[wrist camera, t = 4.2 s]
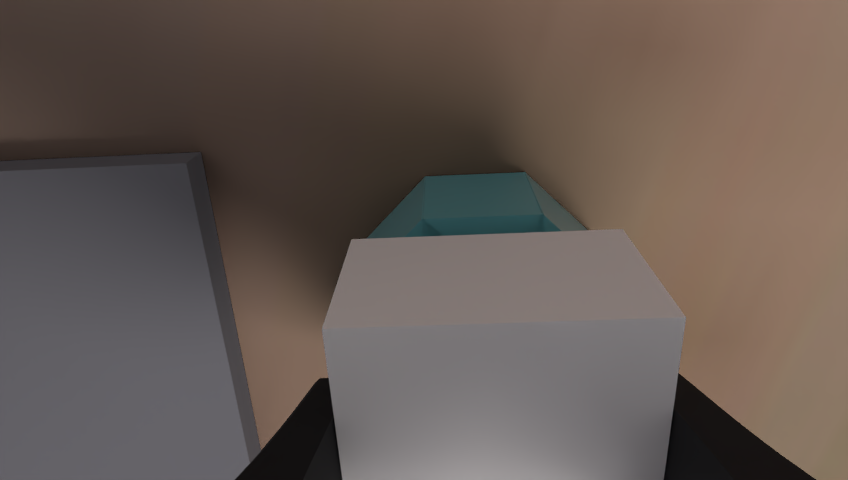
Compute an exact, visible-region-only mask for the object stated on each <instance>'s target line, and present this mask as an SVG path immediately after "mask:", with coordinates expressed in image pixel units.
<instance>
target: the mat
mask: <svg viewBox="0 0 848 480" xmlns="http://www.w3.org/2000/svg"><path fill="white" fill-rule="evenodd" d="M260 452H261V449H260V444H259V439H258V434H257V429H256V424H255V419H254V414H253V409H252V404H251V399H250V394H249V389H248V384H247V379H246V374H245V369H244V364H243V359H242V354H241V349H240V344H239V339H238V334H237V329H236V324H235V319H234V314H233V309H232V304H231V300H230V295H229V290H228V285H227V280H226V275H225V270H224V265H223V260H222V255H221V250H220V245H219V240H218V235H217V230H216V225H215V220H214V215H213V210H212V205H211V200H210V195H209V190H208V185H207V180H206V175H205V170H204V165H203V160H202V155H201V152H191V153H168V154H146V155H123V156H101V157H78V158H56V159H33V160H11V161H0V480H235V479H236V478H237V477H238V476H239V474H240V473H241V472H242V471H243V470H244V469H245V468H246V467H247V466H248V465H249V464H250V463H251V462H252V461H253V459H254V458H255V457H256V456H257V455H258V454H259V453H260Z"/></svg>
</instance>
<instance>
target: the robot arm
mask: <svg viewBox="0 0 848 480" xmlns="http://www.w3.org/2000/svg"><path fill="white" fill-rule="evenodd" d="M235 480H342V473H341V466H340V458H339V451H338V444H337V436H336V429H335V422H334V414H333V407H332V399H331V392H330V385H329V378H320V379H319V380H318V381H317V382H316V383H315V384H314V385H313V386H312V388H311V389H310V390H309V392H308V393H307V394H306V396H305V397H304V398H303V400H302V401H301V402H300V403H299V405H298V406H297V407H296V409H295V410H294V411H293V413H292V414H291V415H290V416H289V418H288V419H287V420H286V421H285V423H284V424H283V425H282V426H281V428H280V429H279V430H278V431H277V432H276V434H275V435H274V436H273V437H272V438H271V440H270V441H269V442H268V443H267V444H266V446H265V447H264V448H263V449H262V450H261V452H260V453H259V454H258V455H257V456H256V457H255V458H254V459H253V461H252V462H251V463H250V464H249V465H248V466H247V467H246V468H245V469H244V470H243V471H242V472H241V473H240V474H239V476H238V477H237V478H236V479H235ZM664 480H816V479H814V478H813V477H811V476H810V475H809V474H807V473H806V472H804V471H803V470H802V469H800V468H799V467H797V466H796V465H794V464H793V463H792V462H790V461H789V460H787V459H786V458H785V457H783V456H782V455H780V454H779V453H778V452H776V451H775V450H774V449H772V448H771V447H770V446H768V445H767V444H766V443H764V442H763V441H762V440H760V439H759V438H758V437H757V436H755V435H754V434H753V433H751V432H750V431H749V430H748V429H746V428H745V427H744V426H742V425H741V424H740V423H739V422H737V421H736V420H735V419H734V418H732V417H731V416H730V415H729V414H727V413H726V412H725V411H724V410H723V409H721V408H720V407H719V406H718V405H716V404H715V403H714V402H713V401H712V400H710V399H709V398H708V397H707V396H706V395H704V394H703V393H702V392H701V391H700V390H698V389H697V388H696V387H695V386H694V385H692V384H691V383H690V382H689V381H687V380H686V379H685V378H684V377H683V376H681V375H680V374H679V373H678V379H677V386H676V393H675V401H674V408H673V415H672V423H671V430H670V437H669V445H668V452H667V459H666V466H665V474H664Z"/></svg>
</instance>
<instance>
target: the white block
mask: <svg viewBox="0 0 848 480" xmlns="http://www.w3.org/2000/svg"><path fill="white" fill-rule="evenodd" d="M685 320H686V317H685V315H684V314H683V313H682V311H681V310H680V308H679V307H678V306H677V304H676V303H675V301H674V300H673V299H672V297H671V296H670V294H669V293H668V292H667V290H666V289H665V287H664V286H663V285H662V283H661V282H660V280H659V279H658V278H657V276H656V275H655V273H654V272H653V271H652V269H651V268H650V266H649V265H648V264H647V262H646V261H645V260H644V258H643V257H642V255H641V254H640V253H639V251H638V250H637V248H636V247H635V246H634V244H633V243H632V241H631V240H630V239H629V237H628V236H627V234H626V233H625V232H624V230H623V229H610V230H584V231H557V232H530V233H504V234H477V235H451V236H424V237H397V238H371V239H351V242H350V245H349V248H348V251H347V254H346V258H345V261H344V264H343V267H342V270H341V273H340V276H339V279H338V282H337V285H336V288H335V291H334V294H333V297H332V300H331V303H330V306H329V309H328V312H327V315H326V318H325V321H324V324H323V327H322V333H323V341H324V348H325V355H326V363H327V370H328V377H329V385H330V392H331V399H332V407H333V414H334V422H335V429H336V436H337V444H338V451H339V458H340V466H341V473H342V480H664V474H665V466H666V459H667V452H668V445H669V437H670V430H671V423H672V415H673V408H674V401H675V393H676V386H677V379H678V372H679V364H680V357H681V350H682V342H683V335H684V328H685Z"/></svg>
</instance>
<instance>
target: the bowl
mask: <svg viewBox="0 0 848 480" xmlns="http://www.w3.org/2000/svg"><path fill="white" fill-rule="evenodd" d="M584 230H587V229H586V228H585V227H584V226H583V225H582V224H581V223H579V222H578V221H577V220H576V219H575V218H574V217H573V216H572V215H571V214H570V213H569V212H568V211H567V210H565V209H564V208H563V207H562V206H561V205H560V204H559V203H558V202H557V201H556V200H555V199H554V198H552V197H551V196H550V195H549V194H548V193H547V192H546V191H545V190H544V189H543V188H542V187H541V186H540V185H538V184H537V183H536V182H535V181H534V180H533V179H532V178H531V177H530V176H529V175H528V174H527V173H526V172H516V173H492V174H468V175H444V176H425V177H424V178H423V179H422V180H421V181H420V182H419V183H418V184H417V186H416V187H415V188H414V189H413V190H412V191H411V192H410V193H409V194H408V195H407V196H406V197H405V198H404V199H403V200H402V201H401V202H400V203H399V204H398V206H397V207H396V208H395V209H394V210H393V211H392V212H391V213H390V214H389V215H388V216H387V217H386V218H385V219H384V220H383V221H382V222H381V223H380V224H379V226H378V227H377V228H376V229H375V230H374V231H373V232H372V233H371V234H370V235H369V236H368V237H367V238H366V239H371V238H397V237H424V236H451V235H477V234H504V233H530V232H557V231H584Z"/></svg>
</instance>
